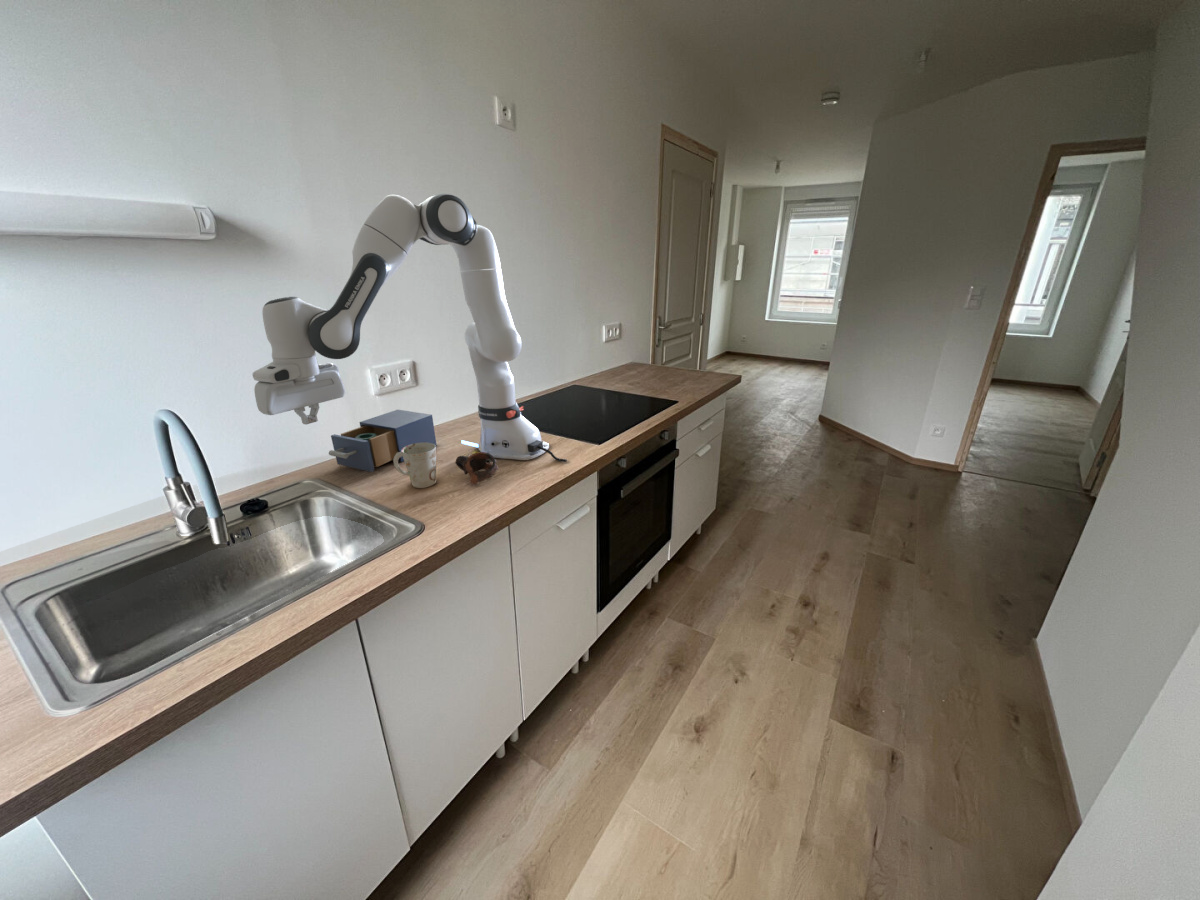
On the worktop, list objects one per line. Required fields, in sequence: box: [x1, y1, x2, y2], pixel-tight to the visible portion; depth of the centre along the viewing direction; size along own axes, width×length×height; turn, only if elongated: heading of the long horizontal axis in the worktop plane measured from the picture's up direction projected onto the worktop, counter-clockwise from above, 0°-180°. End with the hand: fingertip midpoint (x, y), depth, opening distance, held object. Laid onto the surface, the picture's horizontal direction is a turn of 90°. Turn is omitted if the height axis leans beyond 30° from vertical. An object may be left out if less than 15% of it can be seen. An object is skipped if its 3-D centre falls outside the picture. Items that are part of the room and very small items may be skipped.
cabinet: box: [359, 409, 438, 463], centre depth 140 cm, size 15×15×11 cm
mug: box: [392, 443, 437, 489], centre depth 118 cm, size 8×13×10 cm, turn 78°
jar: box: [355, 433, 377, 460], centre depth 131 cm, size 5×5×6 cm
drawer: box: [328, 426, 398, 473], centre depth 129 cm, size 18×13×9 cm
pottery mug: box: [455, 451, 500, 486], centre depth 122 cm, size 12×10×8 cm
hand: (310, 422), depth 114 cm, fingers closed
